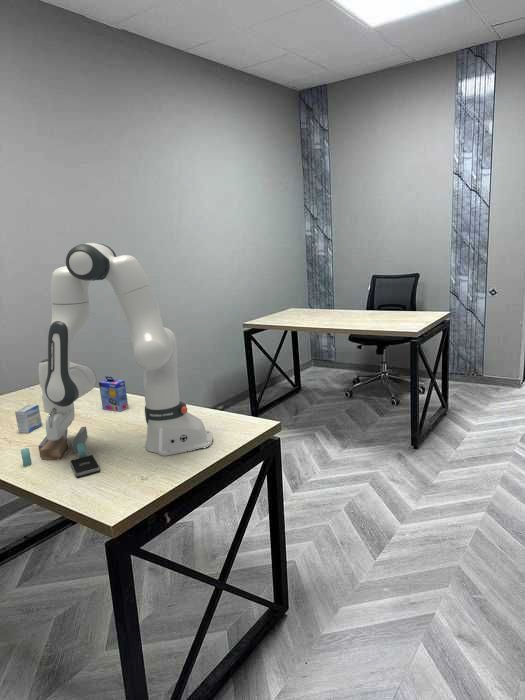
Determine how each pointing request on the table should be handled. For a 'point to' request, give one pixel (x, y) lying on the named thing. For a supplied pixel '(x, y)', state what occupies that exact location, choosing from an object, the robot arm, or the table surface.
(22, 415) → the medicine box
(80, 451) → the posts
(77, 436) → the channel walls
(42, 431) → the table surface
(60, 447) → the walnut block
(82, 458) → the external hard drive
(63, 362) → the robot arm
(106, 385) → the ink cartridge box
